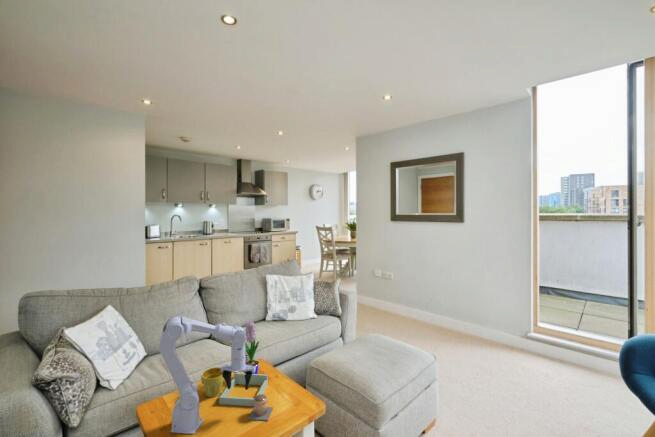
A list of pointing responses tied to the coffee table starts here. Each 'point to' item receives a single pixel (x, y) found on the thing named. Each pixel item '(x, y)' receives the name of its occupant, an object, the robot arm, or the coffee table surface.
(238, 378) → the frame
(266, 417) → the slate pad
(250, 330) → the hyacinth
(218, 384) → the plant pot
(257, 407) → the terracotta pot
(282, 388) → the coffee table surface
